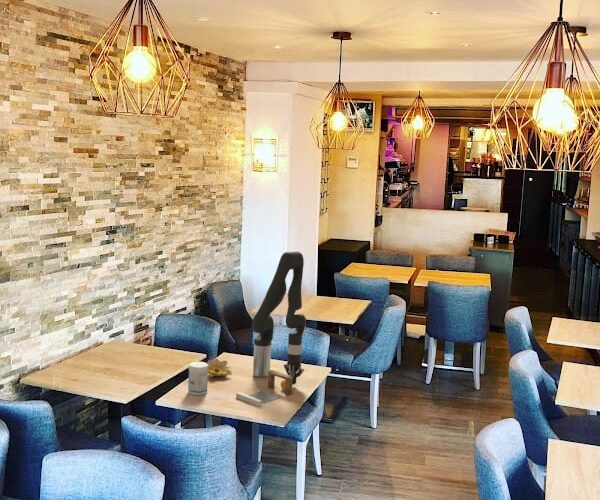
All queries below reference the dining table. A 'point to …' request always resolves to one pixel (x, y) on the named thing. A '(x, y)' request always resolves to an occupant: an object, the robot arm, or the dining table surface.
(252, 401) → the stopper strip
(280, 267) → the robot arm
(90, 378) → the dining table surface
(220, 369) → the decorative flower
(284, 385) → the ball
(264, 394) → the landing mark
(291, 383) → the bridge
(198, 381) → the supplement tub
